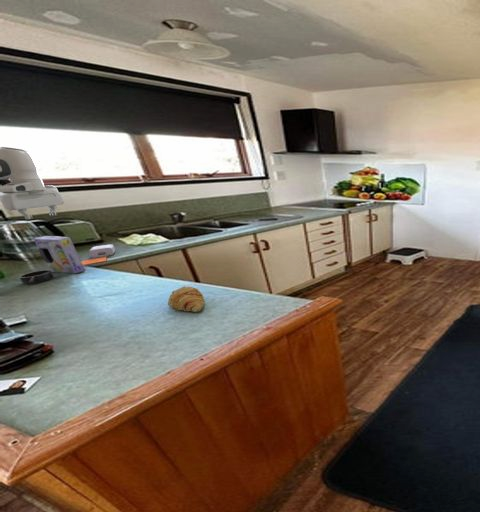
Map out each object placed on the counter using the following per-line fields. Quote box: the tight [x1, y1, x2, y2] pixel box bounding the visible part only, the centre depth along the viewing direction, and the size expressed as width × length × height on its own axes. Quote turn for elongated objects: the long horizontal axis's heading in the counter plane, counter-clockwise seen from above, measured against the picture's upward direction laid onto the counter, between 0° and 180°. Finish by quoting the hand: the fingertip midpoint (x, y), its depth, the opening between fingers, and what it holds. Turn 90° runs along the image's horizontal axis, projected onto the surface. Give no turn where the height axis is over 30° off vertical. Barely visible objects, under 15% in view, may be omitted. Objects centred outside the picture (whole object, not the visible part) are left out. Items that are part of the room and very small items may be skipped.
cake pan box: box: [33, 235, 86, 275], centre depth 131 cm, size 19×5×18 cm, turn 75°
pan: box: [19, 269, 55, 285], centre depth 123 cm, size 9×9×4 cm
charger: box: [88, 243, 116, 259], centre depth 160 cm, size 5×9×15 cm
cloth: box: [81, 256, 108, 266], centre depth 147 cm, size 10×10×1 cm
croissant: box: [167, 286, 205, 313], centre depth 98 cm, size 21×10×8 cm
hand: (41, 217), depth 125 cm, fingers open, 8 cm apart
